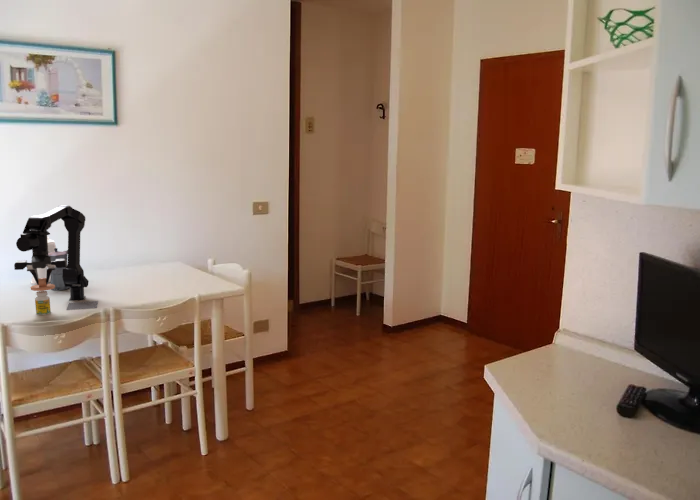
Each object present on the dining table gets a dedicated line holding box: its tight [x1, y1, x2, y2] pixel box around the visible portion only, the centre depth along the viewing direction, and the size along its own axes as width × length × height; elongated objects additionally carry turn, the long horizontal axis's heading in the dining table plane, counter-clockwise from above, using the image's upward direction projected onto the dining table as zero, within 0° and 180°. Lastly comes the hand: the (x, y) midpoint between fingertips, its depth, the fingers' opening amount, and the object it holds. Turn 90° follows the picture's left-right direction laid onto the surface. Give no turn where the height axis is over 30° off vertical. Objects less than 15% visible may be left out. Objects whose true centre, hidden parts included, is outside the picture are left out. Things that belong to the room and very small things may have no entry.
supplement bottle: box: [34, 290, 52, 316], centre depth 247 cm, size 5×5×10 cm
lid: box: [29, 278, 55, 292], centre depth 246 cm, size 9×9×4 cm
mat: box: [66, 300, 99, 311], centre depth 260 cm, size 12×12×1 cm
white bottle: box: [30, 235, 57, 285], centre depth 301 cm, size 12×11×25 cm
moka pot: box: [48, 247, 70, 291], centre depth 290 cm, size 10×15×20 cm, turn 158°
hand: (42, 284), depth 246 cm, fingers closed on lid, 3 cm apart
